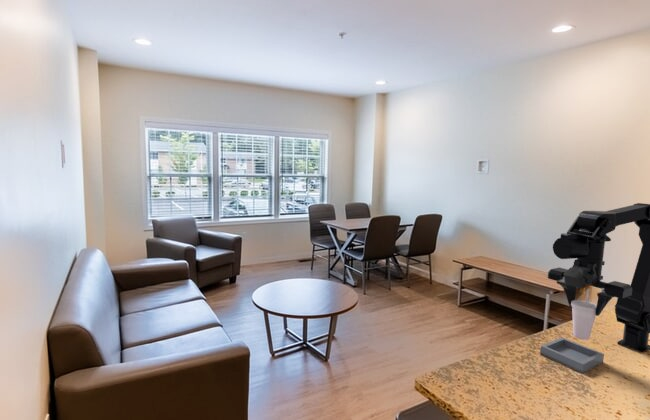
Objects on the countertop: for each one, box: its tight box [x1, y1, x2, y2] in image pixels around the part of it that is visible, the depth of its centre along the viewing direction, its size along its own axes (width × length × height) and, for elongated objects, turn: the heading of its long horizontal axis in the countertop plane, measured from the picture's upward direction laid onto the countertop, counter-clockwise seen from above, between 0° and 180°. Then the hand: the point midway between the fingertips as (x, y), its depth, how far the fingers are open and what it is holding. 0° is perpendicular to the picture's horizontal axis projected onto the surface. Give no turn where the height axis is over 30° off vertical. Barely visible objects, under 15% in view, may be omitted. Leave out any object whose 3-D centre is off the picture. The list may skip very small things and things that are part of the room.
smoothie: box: [571, 288, 597, 341], centre depth 102 cm, size 6×6×14 cm
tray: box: [539, 337, 605, 374], centre depth 102 cm, size 11×11×2 cm
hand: (583, 311), depth 102 cm, fingers closed on smoothie, 6 cm apart
